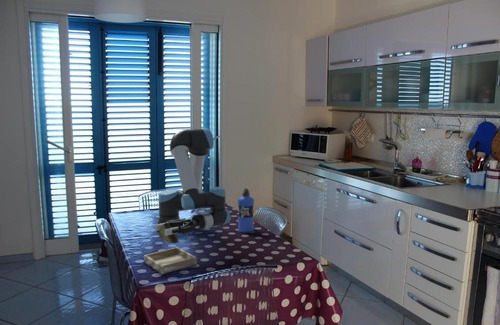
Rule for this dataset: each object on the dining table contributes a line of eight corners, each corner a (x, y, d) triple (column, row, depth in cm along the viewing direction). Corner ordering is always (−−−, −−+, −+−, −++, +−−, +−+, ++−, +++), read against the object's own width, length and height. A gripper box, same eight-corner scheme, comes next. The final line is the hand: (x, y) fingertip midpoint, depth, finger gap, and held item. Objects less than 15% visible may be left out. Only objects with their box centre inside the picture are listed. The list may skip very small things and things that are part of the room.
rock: (153, 233, 200) (154, 237, 190) (163, 218, 201) (165, 221, 192) (172, 245, 203) (174, 249, 193) (182, 230, 204) (185, 233, 194)
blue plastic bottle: (252, 233, 244) (252, 191, 240) (236, 232, 246) (236, 190, 242) (255, 228, 253) (255, 187, 249) (239, 227, 255) (239, 187, 251)
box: (144, 262, 200) (143, 255, 200) (177, 253, 211) (177, 246, 211) (161, 274, 186) (161, 266, 186) (196, 264, 198) (196, 257, 197)
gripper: (214, 234, 200) (171, 244, 186) (190, 223, 216) (150, 232, 202) (214, 218, 199) (171, 227, 185) (190, 209, 215) (149, 217, 201)
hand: (160, 230), depth 193 cm, fingers closed on rock, 8 cm apart
